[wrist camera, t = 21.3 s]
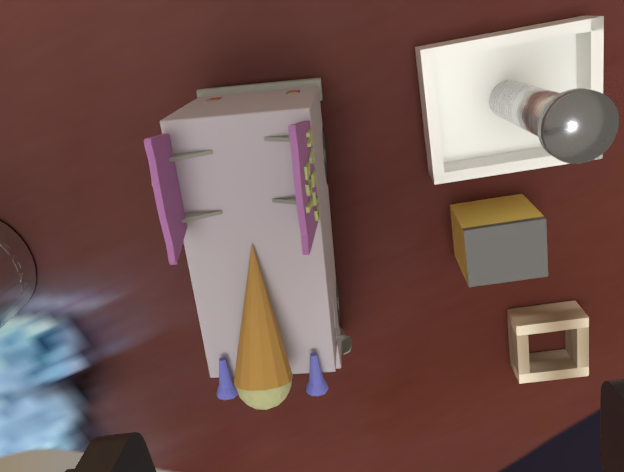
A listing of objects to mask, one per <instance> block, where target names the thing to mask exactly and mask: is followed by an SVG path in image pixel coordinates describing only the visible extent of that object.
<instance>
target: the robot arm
mask: <svg viewBox="0 0 624 472" xmlns="http://www.w3.org/2000/svg"><path fill="white" fill-rule="evenodd" d="M35 285H36V268H35V264H34V261H33V257H32V255H31V253H30V251H29V249H28V248H27V246H26V244H25V243H24V242H23V240H22V239H21V238H20V237H19V235H18V234H17V233H15V232H14V231H13V230H12V229H11V228H10V227H9V226H8V225H6V224H5V223H3V222H1V221H0V328H1V327H2V326H3V325H4V324H5V323H6V322H8V321H9V320H10V319H11V318H12V317H13V316H14V315H15V314H16V313H17V312H18V311H19V310H20V309H21V308H23V307H24V305H25V304H26V303H27V302H28V301H29V300H30V298H31V296H32V294H33V292H34V290H35ZM600 429H601V430H600V431H601V432H600V456H601V463H602V467H603V472H624V379H620V380H612V381H605V382H604V383H603V384H602V387H601V426H600ZM65 472H156V470H155V467H154V464H153V462H152V459H151V456H150V453H149V451H148V448H147V445H146V443H145V440H144V438H143V437H142V435H141V434H140V433H138V432H133V433H124V434H115V435H106V436H98V437H95V438H94V439H93V440H92V441H91V442H90V444H89V445H88V447H87V449H86V450H85V452H84V454H83V456H82V457H81V459H80V461H79V462H78V464H77V466H76V468H75V469H68V470H66V471H65Z"/></svg>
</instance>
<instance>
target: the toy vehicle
mask: <svg viewBox="0 0 624 472" xmlns="http://www.w3.org/2000/svg"><path fill="white" fill-rule="evenodd" d="M322 99H323V95H322V84H321V77H319V78H309V79H298V80H288V81H277V82H267V83H256V84H246V85H236V86H225V87H215V88H204V89H198V90H197V98H196V99H195V100H193V101H192V102H190V103H188V104H187V105H185V106H183V107H182V108H180V109H178V110H177V111H175V112H174V113H172V114H170V115H169V116H167V117H165V118H164V119H162V120H160V125H161V130H162V135H158V136H154V137H150V138H145V139H144V146H145V150H146V153H147V157H148V161H149V167H150V173H151V179H152V187H153V190H154V195H155V200H156V205H157V210H158V215H159V219H160V223H161V227H162V231H163V235H164V239H165V243H166V247H167V253H168V260H169V263H170V265H176V264H177V262H178V259H179V255H180V252H181V248H182V244H183V241H184V246H185V252H186V257H187V262H188V267H189V272H190V277H191V282H192V287H193V292H194V297H195V302H196V307H197V312H198V317H199V322H200V327H201V332H202V337H203V342H204V347H205V352H206V356H205V357H206V359H207V363H208V368H209V373H210V378H216V377H219V387H218V390H217V397H218V399H222V400H229V399H233V398H235V397H236V396H237V395H238V394H239V397H240V398H241V399H242V400H243V401H244V402H245V403H246V404H247V405H249V406H251V407H253V408H255V409H264V410H267V409H270V408H272V407H275V406H278V405H279V404H280V403H281V402H282V401H283V400H284V399H285V398H286V396H287V395H288V392H289V390H290V388H291V383H292V378H293V375H292V374H299V373H310V376H309V381H308V383H307V386H306V392H307V393H308V394H310V395H311V396H320V395H323V394H325V393H326V392H327V390H328V389H329V388H328V386H327V383H326V381H325V380H324V379H323V375H322V372H336V369H338V368H341V351H342V353H343V354H344V355H345V354H347V353H349V352H350V350H351V337H350V336H347V337H346V336H345V335H344V333H343V329H340V327H339V325H340V304H339V291H338V284H337V282H336V273H335V261H334V249H333V238H332V226H331V214H330V203H329V191H328V184H327V182H326V178H327V157H326V145H325V137H324V133H323V131H322V126H323V120H322V114H321V105H320V100H322ZM232 377H234V382H233V380H232Z"/></svg>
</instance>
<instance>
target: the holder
mask: <svg viewBox="0 0 624 472" xmlns="http://www.w3.org/2000/svg"><path fill="white" fill-rule="evenodd" d="M507 320H508V336H509V352H510V365H511V367H512V369H513V371H514V373H515V375H516V377H517V380H518V382H519V384H521V383H529V382H538V381H547V380H556V379H565V378H574V377H583V376H589V317H588V316H587V315H586V313H585V312H584V311H583V309H582V308H581V307H580V306H579V304H578V303H577V302H576V301H575V300H574V301H566V302H558V303H551V304H543V305H535V306H527V307H520V308H512V309H507ZM562 330H565V349H560V350H552V351H543V352H535V353H529V343H528V335H529V334H537V333H545V332H554V331H562Z"/></svg>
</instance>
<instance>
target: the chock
mask: <svg viewBox="0 0 624 472" xmlns="http://www.w3.org/2000/svg"><path fill="white" fill-rule="evenodd" d="M450 214H451V224H452V234H453V244H454V254H455V258H456V260H457V262H458V264H459V266H460V269H461V271H462V273H463V275H464V278H465V280H466V282H467V284H468V287H474V286H481V285H489V284H496V283H503V282H511V281H518V280H525V279H533V278H540V277H547V276H548V259H547V228H546V218H545V217H544V216H543V215H542V214H541V213H540V212H539V211H538V210H537V208H536V207H535V206H534V205H533V204H532V203H531V202H530V201H529V200H528V199H527V198H526V197H525V196H524V195H523V194H516V195H510V196H503V197H497V198H490V199H484V200H477V201H471V202H464V203H458V204H451V205H450Z"/></svg>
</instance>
